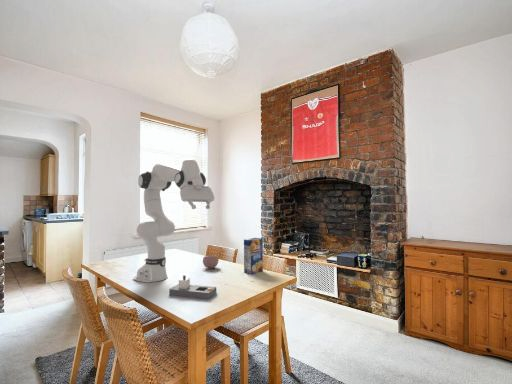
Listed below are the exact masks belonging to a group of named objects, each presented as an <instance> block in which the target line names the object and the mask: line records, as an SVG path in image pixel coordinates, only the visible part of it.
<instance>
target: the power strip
mask: <svg viewBox="0 0 512 384" xmlns="http://www.w3.org/2000/svg"><path fill="white" fill-rule="evenodd" d="M168 294H169V295H168V296H171V297H178V298H179V297H180V298H190V299H196V300H210V299H211V298H213V297H214V296H215V295H216V294H217V287H216V286H209V285H208V286H207V285H200V284H199V285H197V284H190V287H189V288H187V289H179V283H177V284H176V285H174V286H172V287H171V288H169V290H168Z"/></svg>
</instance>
